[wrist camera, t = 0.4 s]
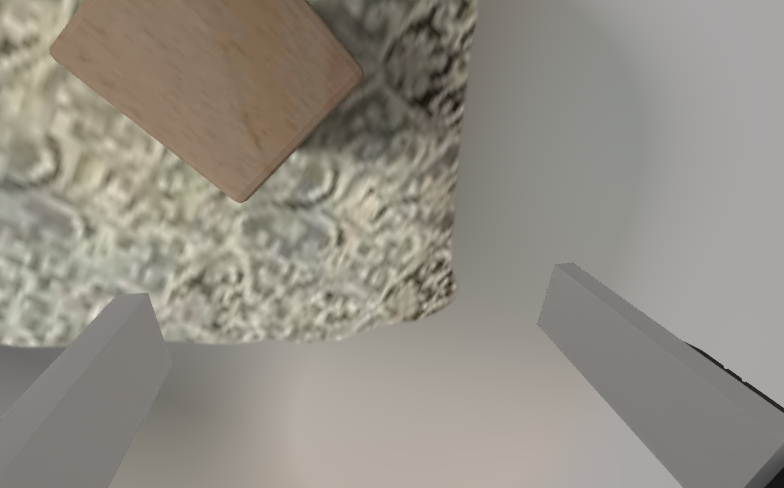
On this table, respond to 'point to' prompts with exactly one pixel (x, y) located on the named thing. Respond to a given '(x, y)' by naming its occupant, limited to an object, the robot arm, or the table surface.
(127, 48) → the wooden block
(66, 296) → the table surface
